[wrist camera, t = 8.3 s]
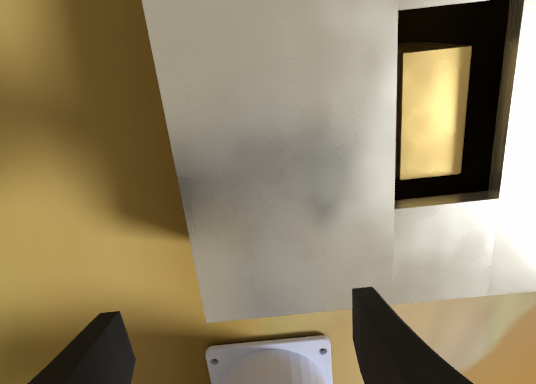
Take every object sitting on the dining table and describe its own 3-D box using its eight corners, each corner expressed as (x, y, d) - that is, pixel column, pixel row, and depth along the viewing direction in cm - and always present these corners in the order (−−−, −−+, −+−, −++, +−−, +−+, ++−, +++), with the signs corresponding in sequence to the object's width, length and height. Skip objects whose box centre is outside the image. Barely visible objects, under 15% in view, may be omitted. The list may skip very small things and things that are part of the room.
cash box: (567, 211, 23) (677, 277, 17) (220, 246, 23) (206, 322, 17) (636, -133, 17) (846, -222, 11) (165, -78, 17) (114, -134, 11)
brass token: (416, 141, 21) (460, 173, 17) (369, 146, 21) (400, 179, 17) (421, 41, 19) (471, 46, 15) (369, 47, 19) (403, 53, 15)
